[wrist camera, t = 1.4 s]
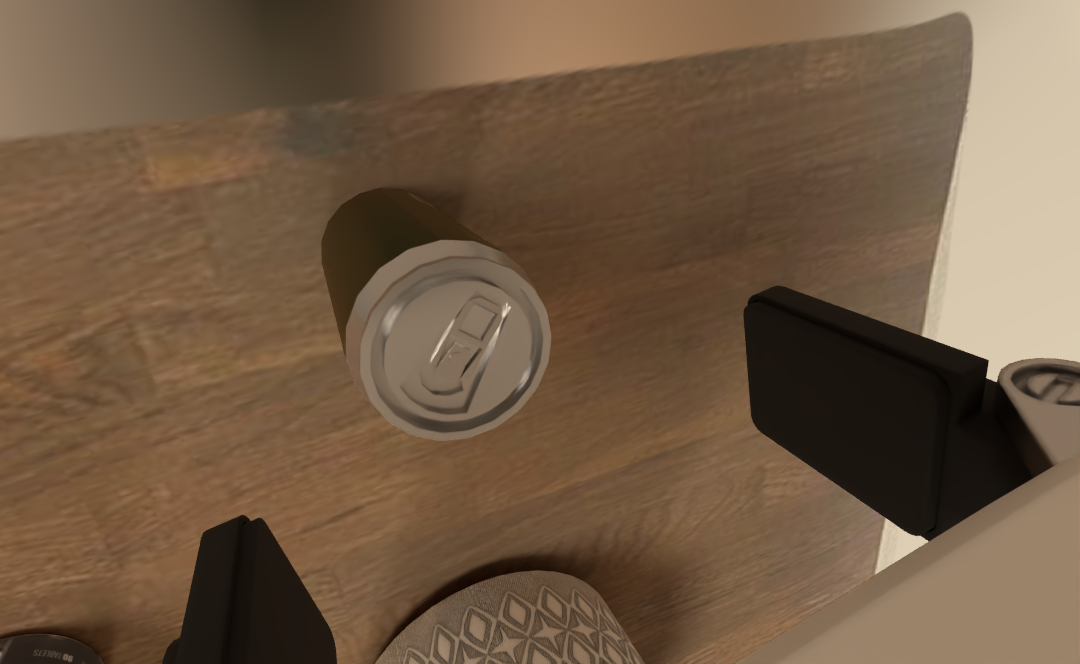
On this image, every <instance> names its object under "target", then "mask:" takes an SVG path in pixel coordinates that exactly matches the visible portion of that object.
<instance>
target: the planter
mask: <svg viewBox="0 0 1080 664" xmlns="http://www.w3.org/2000/svg"><path fill="white" fill-rule="evenodd" d="M375 664H645V663H644V661H643V660H642V658H641V657H640V655H639V654H638V652H637V651H636V649H635V647H634V646H633V644H632V643H631V641H630V640H629V638H628V637H627V635H626V634H625V632H624V630H623V629H622V627H621V626H620V624H619V623H618V621H617V620H616V618H615V617H614V615H613V614H612V612H611V610H610V609H609V607H608V606H607V604H606V603H605V601H604V600H603V599H602V597H601V596H600V595H599V593H598V592H597V591H596V590H595V589H593V588H592V587H591V586H590V585H589V584H587V583H586V582H584V581H582V580H580V579H578V578H576V577H574V576H571V575H567V574H563V573H560V572H553V571H541V570H536V571H523V572H515V573H511V574H506V575H501V576H497V577H494V578H491V579H488V580H485V581H482V582H479V583H476V584H474V585H471V586H469V587H467V588H465V589H463V590H461V591H459V592H456V593H454V594H452V595H451V596H449V597H447V598H446V599H444V600H442V601H441V602H439V603H438V604H436V605H434V606H433V607H431V608H430V609H429V610H427V611H426V612H425V613H423V614H422V615H421V616H419V617H418V618H417V619H415V620H414V621H413V622H412V623H411V624H409V625H408V626H407V627H406V628H405V629H404V630H403V631H402V632H401V633H400V634H399V635H398V636H397V637H396V638H395V639H394V640H393V641H392V642H391V644H390V645H389V646H388V647H387V648H386V650H385V651H384V652H383V653H382V654H381V656H380V657H379V658H378V660H377V661H376V663H375Z"/></svg>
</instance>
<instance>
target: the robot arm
mask: <svg viewBox="0 0 1080 664" xmlns="http://www.w3.org/2000/svg"><path fill="white" fill-rule="evenodd" d="M744 328H745V341H746V354H747V367H748V380H749V393H750V407H751V417H752V420H753V423H754V424H755V426H756V427H757V429H758V430H759V431H760V432H762V433H763V434H764V435H766V436H767V437H769V438H770V439H772V440H773V441H775V442H776V443H777V444H779V445H780V446H782V447H783V448H785V449H786V450H788V451H789V452H791V453H792V454H793V455H795V456H796V457H798V458H799V459H801V460H802V461H804V462H805V463H807V464H808V465H809V466H811V467H812V468H814V469H815V470H817V471H818V472H820V473H821V474H823V475H824V476H825V477H827V478H828V479H830V480H831V481H833V482H834V483H836V484H837V485H839V486H840V487H841V488H843V489H844V490H846V491H847V492H849V493H850V494H852V495H853V496H855V497H856V498H858V499H859V500H860V501H862V502H863V503H865V504H866V505H868V506H869V507H871V508H872V509H874V510H875V511H876V512H878V513H879V514H881V515H882V516H884V517H885V518H887V519H888V520H890V521H891V522H892V523H894V524H895V525H897V526H898V527H900V528H901V529H903V530H904V531H906V532H907V533H909V534H911V535H915V536H922V537H923V538H925V539H926V540H928V541H929V542H928V543H926V544H925V545H923V546H921V547H919V548H918V549H916V550H915V551H913V552H912V553H910V554H908V555H907V556H905V557H903V558H902V559H900V560H898V561H897V562H895V563H894V564H892V565H890V566H889V567H887V568H886V569H884V570H882V571H881V572H879V573H878V574H876V575H874V576H873V577H871V578H869V579H868V580H866V581H865V582H863V583H861V584H860V585H858V586H857V587H855V588H853V589H852V590H850V591H849V592H847V593H846V594H844V595H842V596H841V597H839V598H838V599H836V600H834V601H833V602H831V603H830V604H828V605H826V606H825V607H823V608H822V609H820V610H818V611H817V612H815V613H814V614H812V615H810V616H809V617H807V618H806V619H804V620H802V621H801V622H799V623H798V624H796V625H794V626H793V627H791V628H790V629H788V630H786V631H785V632H783V633H782V634H780V635H779V636H777V637H775V638H774V639H772V640H771V641H769V642H767V643H766V644H764V645H763V646H761V647H759V648H758V649H756V650H755V651H753V652H752V653H750V654H748V655H747V656H745V657H744V658H742V659H740V660H739V661H737V662H736V663H734V664H1080V363H1079V362H1075V361H1068V360H1061V359H1049V358H1048V359H1047V358H1036V359H1026V360H1021V361H1017V362H1014V363H1010V364H1008V365H1007V366H1006V367H1004V368H1003V369H1001V371H1000V373H999V376H998V380H997V382H994V381H992V380H989V379H987V378H986V375H987V368H988V360H986V359H984V358H981V357H978V356H975V355H973V354H970V353H967V352H964V351H961V350H959V349H956V348H953V347H950V346H947V345H945V344H942V343H939V342H936V341H934V340H931V339H928V338H925V337H922V336H920V335H917V334H914V333H911V332H909V331H906V330H903V329H900V328H897V327H895V326H892V325H889V324H886V323H883V322H881V321H878V320H875V319H872V318H870V317H867V316H864V315H861V314H858V313H856V312H853V311H850V310H847V309H844V308H842V307H839V306H836V305H833V304H831V303H828V302H825V301H822V300H819V299H817V298H814V297H811V296H808V295H805V294H803V293H800V292H797V291H794V290H792V289H789V288H786V287H783V286H774V287H771V288H769V289H767V290H764V291H762V292H760V293H757V294H755V295H753V296H752V297H750V298H749V301H748V306H746V307H745V309H744ZM162 664H337V658H336V647H335V642H334V638H333V635H332V632H331V630H330V628H329V626H328V624H327V622H326V621H325V619H324V617H323V616H322V614H321V612H320V611H319V609H318V607H317V606H316V604H315V603H314V601H313V599H312V598H311V596H310V594H309V593H308V591H307V590H306V588H305V586H304V585H303V583H302V581H301V580H300V578H299V576H298V575H297V573H296V572H295V570H294V568H293V567H292V565H291V563H290V562H289V560H288V558H287V557H286V555H285V554H284V552H283V550H282V549H281V547H280V545H279V544H278V542H277V540H276V539H275V537H274V536H273V534H272V532H271V531H270V529H269V527H268V526H267V524H266V523H265V521H264V520H263V519H262V518H257V519H255V520H253V521H250V519H249V518H247V517H246V516H244V515H241V516H239V517H237V518H234V519H232V520H230V521H227V522H225V523H223V524H220V525H218V526H216V527H213V528H211V529H209V530H206V531H205V532H204V533H203V535H202V537H201V542H200V547H199V551H198V556H197V561H196V565H195V570H194V575H193V580H192V584H191V589H190V594H189V598H188V603H187V608H186V613H185V617H184V622H183V627H182V631H181V636H180V638H179V639H177V640H174V641H173V642H172V643H171V644H170V645H169V646H168V648H167V651H166V653H165V656H164V659H163V663H162Z"/></svg>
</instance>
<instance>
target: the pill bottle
mask: <svg viewBox="0 0 1080 664" xmlns="http://www.w3.org/2000/svg"><path fill="white" fill-rule="evenodd" d="M0 664H104V663H103V661H102V659H101V658H100V657H99V655H98V653H97V652H95V651H94V650H92V649H91V648H90V647H88V646H87V645H85V644H83V643H81V642H79V641H77V640H74V639H71V638H68V637H64V636H58V635H50V634H28V635H19V636H13V637H8V638H4V639H0Z"/></svg>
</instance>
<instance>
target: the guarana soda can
mask: <svg viewBox="0 0 1080 664" xmlns="http://www.w3.org/2000/svg"><path fill="white" fill-rule="evenodd" d="M322 265H323V269H324V273H325V277H326V281H327V285H328V289H329V293H330V297H331V302H332V306H333V310H334V314H335V318H336V322H337V326H338V330H339V334H340V338H341V342H342V346H343V350H344V354H345V358H346V361H347V364H348V366H349V369H350V372H351V374H352V377H353V380H354V382H355V385H356V388H357V389H358V390H359V391H360V392H361V394H362V395H363V396H364V397H365V398H366V399H367V400H368V402H369V403H370V404H371V405H372V406H373V407H374V408H375V410H377V411H379V412H380V413H381V414H382V415H383V416H384V418H385V419H386V420H387V421H388V422H389V423H391V424H393V425H394V426H396V427H398V428H400V429H402V430H403V431H405V432H407V433H409V434H411V435H412V436H417V437H422V438H427V439H433V440H438V441H446V440H455V439H464V438H471V437H473V436H476V435H478V434H481V433H483V432H486V431H488V430H491V429H493V428H496V427H497V426H499V425H500V424H501V423H503V422H504V421H506V420H507V419H508V418H510V417H511V416H512V415H514V414H515V413H516V412H518V411H519V410H520V409H521V408H522V406H523V405H524V404H525V403H526V402H527V400H528V399H529V398H530V397H531V395H532V394H533V393H534V392H535V390H536V389H537V388H538V385H539V383H540V381H541V378H542V376H543V374H544V372H545V369H546V367H547V365H548V361H549V353H550V345H551V337H552V336H551V331H550V326H549V320H548V315H547V310H546V308H545V307H544V305H543V303H542V302H541V300H540V297H539V294H538V292H537V291H536V289H535V287H534V285H533V284H532V282H531V280H530V278H529V277H528V275H527V273H526V271H525V270H523V269H522V268H521V267H520V266H519V265H518V264H516V263H515V262H514V261H513V260H512V259H511V258H509V257H508V256H507V255H506V254H505V253H503V252H502V251H501V250H499V249H498V248H496V247H495V246H493V245H492V244H490V243H488V242H487V241H485V240H484V239H482V238H481V237H479V236H478V235H476V234H475V233H473V232H472V231H470V230H469V229H467V228H466V227H464V226H463V225H461V224H460V223H458V222H457V221H455V220H454V219H452V218H451V217H449V216H448V215H446V214H445V213H443V212H442V211H440V210H439V209H437V208H436V207H434V206H433V205H431V204H430V203H428V202H427V201H425V200H424V199H422V198H420V197H418V196H415V195H413V194H410V193H408V192H405V191H403V190H395V189H381V188H380V189H376V190H372V191H368V192H364V193H360V194H358V195H357V196H355V197H353V198H352V199H350V200H349V201H347V202H346V203H344V204H342V205H341V206H340V208H339V209H338V210H337V211H336V213H335V214H334V215H333V216H332V218H331V219H330V220H329V221H328V224H327V227H326V230H325V233H324V236H323V239H322Z"/></svg>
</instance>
